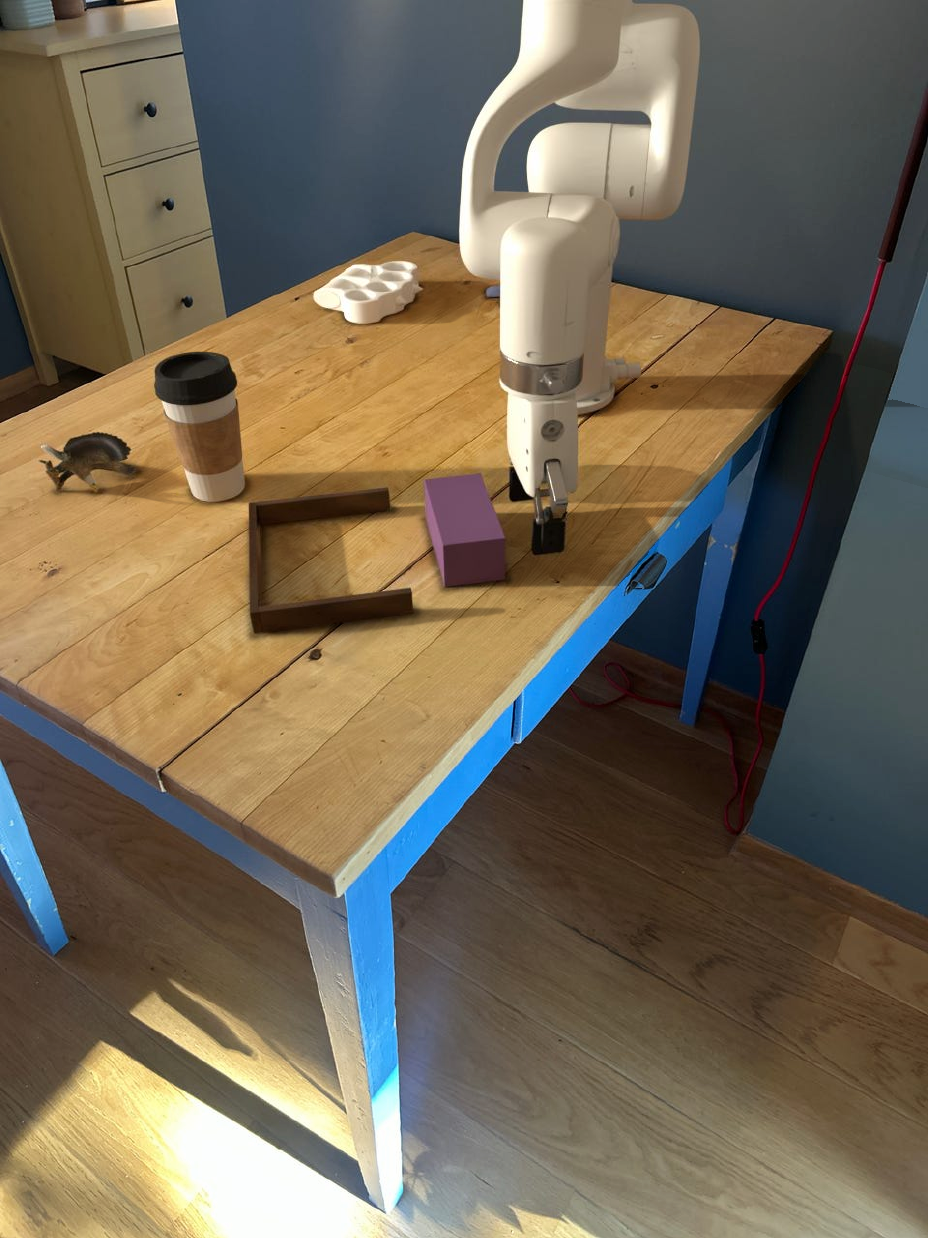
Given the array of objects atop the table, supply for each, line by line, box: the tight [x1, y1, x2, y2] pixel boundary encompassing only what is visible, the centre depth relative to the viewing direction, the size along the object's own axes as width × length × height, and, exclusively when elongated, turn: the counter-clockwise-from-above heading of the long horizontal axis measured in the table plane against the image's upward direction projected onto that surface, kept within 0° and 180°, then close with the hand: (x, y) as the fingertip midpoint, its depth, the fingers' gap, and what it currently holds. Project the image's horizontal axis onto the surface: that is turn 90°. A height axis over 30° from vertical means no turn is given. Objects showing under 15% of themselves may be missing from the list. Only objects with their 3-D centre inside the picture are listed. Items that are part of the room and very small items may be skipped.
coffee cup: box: [153, 351, 246, 503], centre depth 100 cm, size 8×8×15 cm
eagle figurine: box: [38, 431, 137, 493], centre depth 105 cm, size 8×7×9 cm
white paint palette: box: [313, 260, 424, 325], centre depth 146 cm, size 3×18×15 cm
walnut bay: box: [248, 486, 414, 634], centre depth 93 cm, size 15×19×2 cm
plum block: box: [423, 472, 506, 588], centre depth 94 cm, size 6×12×5 cm, turn 10°
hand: (535, 524), depth 95 cm, fingers open, 9 cm apart
